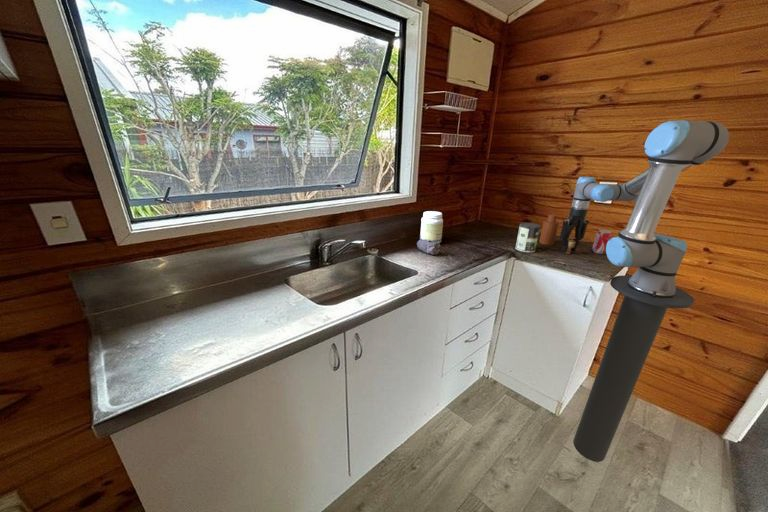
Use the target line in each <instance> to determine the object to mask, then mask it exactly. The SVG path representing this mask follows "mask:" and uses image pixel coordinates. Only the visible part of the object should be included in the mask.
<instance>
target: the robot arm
mask: <svg viewBox="0 0 768 512" xmlns="http://www.w3.org/2000/svg"><path fill="white" fill-rule="evenodd" d="M729 139H730V133H729V130H728V128H727V127H726V126H725V125H724V124H722V123H720V122H717V121H710V120H709V121H708V120H707V121H706V120H705V121H704V120H703V121H702V120H684V119H681V120H668V121H665V122H663V123H660V124H659V125H658V126H656V127H655V128H653V129H652V130H651V132H649V134H648V136H647V138H646V140H645V142H644V147H643V148H644V153H645V154H646V155H647V156H648V158H647V160H646V161H647V163H648V164H649V167H648V168H647V169H646V170H644V171H642V172H640V173H639V174H637V175H636V176H634V177H633V178H630V179H629V180H627V181H626V182H624V183H620V184H619V183H618V184H617V183H614V184H613V183H598V182H597V178H596V177H594V176H580V177H578V179H577V182H576V184H575V188H574V193H573V198H572V201H571V207H570V209H569V213H568V214H569V216H568V218H567V219H563V220H562V226H561V227H562V228H561V230H560V236H559V238H560V239H562V242H561V250H560V251H562V252H563V253H565V252H566V250H567V247H568V243H569V240H570V239H569V238H570V236H571V234H572V232H573V230H574V238H572V240H573V241H576V243H575V247H574V248H571V252H573V253H575V252H576V250H577V246H578V245H579V242H580V241H582V240H583V239H584V238H585V234H586V231H587V227H588V224H589V223H590V220H589V219H586V217H587V214H588V209H589V208H590V203H591V200H592V201H596V202H600V203H605V202H610V201H611V202H613V201H614V202H635V204H634V207H633V208H632V211H631V214H630V216H629V219H628V222H627V223H626V226H625V227H624V228H622V229H620V230H619V232H618V234H617V236H614V237H612V238H611V239H610V240H609V241H608V242H607V245H606V253H605V254H606V256H607V260H608V261H609V262H610V263H611V264H612V265H613V266H616V267H624V268H638V269H637V270H636V271H635V272H634V273H633V274H632V275H631V276H632V277H631V278H630V279H629V281H628V286H629V287H631V288H632V289H634V290H636V291H638V292H641V293H644V294H647V295H651V296H653V297H663V298H670V297H673V296H674V294H675V291H676V287H677V286H676V276H677V273H678V271H679V269H680V266H681V264H682V262H683V259H684V257H685V254H686V253H687V248H688V242H686V241H685V240H683V239H680V238H676V237H674V236H670V235H666V234H661V233H655V231H656V228H657V227H658V225H659V222H660V219H661V217H662V215H663V213H664V211H665V208H666V206H667V203H668V201H669V199H670V197H671V195H672V192H673V190H674V188H675V185H676V183H677V182H678V179H679V177H680V175H681V172H683V171H685V170H687V169H689V168H691V167H693V166H700V165H702V164H704V163H706V162H708V161H710V160H712V159H713V158H714V157H716V156H718V155H719V154H720V153H722V151H723V150H724V149H725V148H726V147H727V145H728V142H729Z"/></svg>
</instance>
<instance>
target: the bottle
mask: <svg viewBox="0 0 768 512" xmlns="http://www.w3.org/2000/svg"><path fill="white" fill-rule="evenodd" d="M557 217H558V214H555V213H548V217H547V219H544V220H543V223H542V226H541V230H540V231H541V232H540V236H539V239H538V240H539V241H538V243H539V244H542V245H546V246H553V245H555V243H556V242H555V241H556V237H557V233H558V228H559V225H560V222H559V221H557Z"/></svg>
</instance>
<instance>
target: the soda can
mask: <svg viewBox="0 0 768 512" xmlns="http://www.w3.org/2000/svg"><path fill="white" fill-rule="evenodd" d="M612 232H613V231H610V230H608V229H607V230H606V229H598V231H597V232H596V234H595V237H594V239H593V243H592V247H591V251H592V252H593V253H594V254H598V255H605V254H606V245H607V242H608V241H609V240H610V239H612V238H613V234H612Z"/></svg>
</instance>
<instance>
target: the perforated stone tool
mask: <svg viewBox="0 0 768 512" xmlns="http://www.w3.org/2000/svg"><path fill="white" fill-rule="evenodd" d="M416 246H417V248H418V249H419V250H420V252H421V251H422V252H423V253H425V254H428V255H429V254H430V255H431V256H435V255H438V254H440V253H441V244H440V243H437V242H434V241H431V240H426V239H421V240H420V239H418V240H417V242H416Z"/></svg>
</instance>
